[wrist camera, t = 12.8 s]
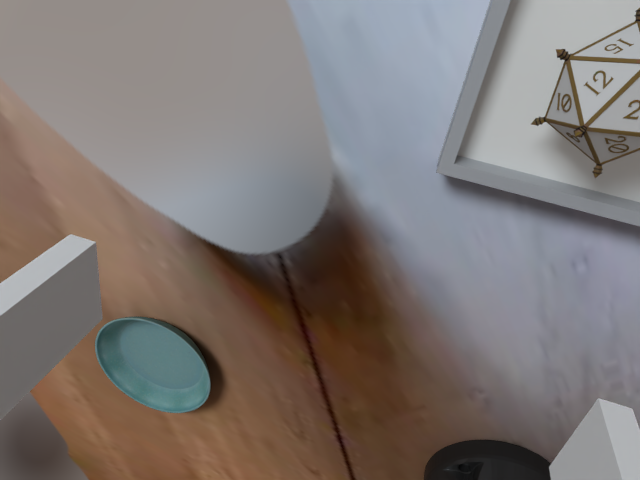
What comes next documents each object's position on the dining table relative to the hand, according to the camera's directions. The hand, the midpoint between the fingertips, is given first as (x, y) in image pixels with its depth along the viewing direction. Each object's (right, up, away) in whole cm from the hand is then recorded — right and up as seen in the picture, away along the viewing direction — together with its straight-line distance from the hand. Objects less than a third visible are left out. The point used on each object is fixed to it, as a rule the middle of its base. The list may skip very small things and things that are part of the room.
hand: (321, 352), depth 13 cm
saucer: (-19, -11, +47) cm, 52 cm away
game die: (+19, +13, +20) cm, 30 cm away
